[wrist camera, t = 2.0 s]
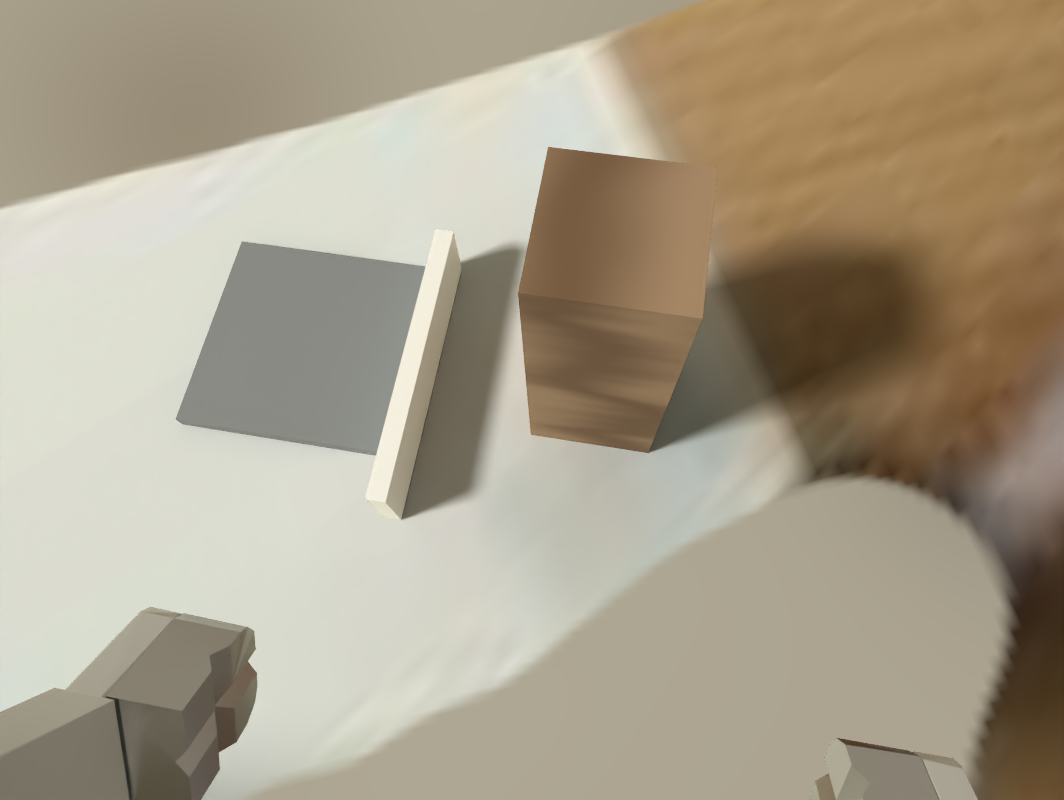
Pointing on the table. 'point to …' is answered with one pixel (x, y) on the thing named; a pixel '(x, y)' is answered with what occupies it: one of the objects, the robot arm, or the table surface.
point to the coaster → (304, 348)
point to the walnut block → (612, 293)
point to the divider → (415, 379)
